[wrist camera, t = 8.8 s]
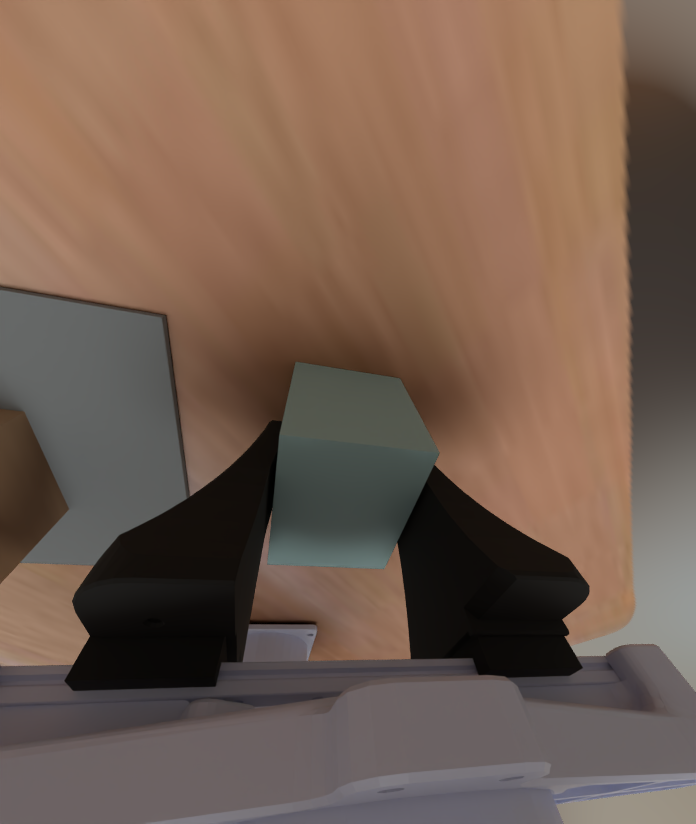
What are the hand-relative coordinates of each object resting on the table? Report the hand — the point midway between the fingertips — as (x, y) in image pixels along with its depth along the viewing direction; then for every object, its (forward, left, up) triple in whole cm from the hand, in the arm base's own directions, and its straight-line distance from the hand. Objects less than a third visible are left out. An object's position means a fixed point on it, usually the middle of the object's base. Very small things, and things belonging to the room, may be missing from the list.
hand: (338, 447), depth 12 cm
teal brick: (0, 0, -2) cm, 2 cm away
